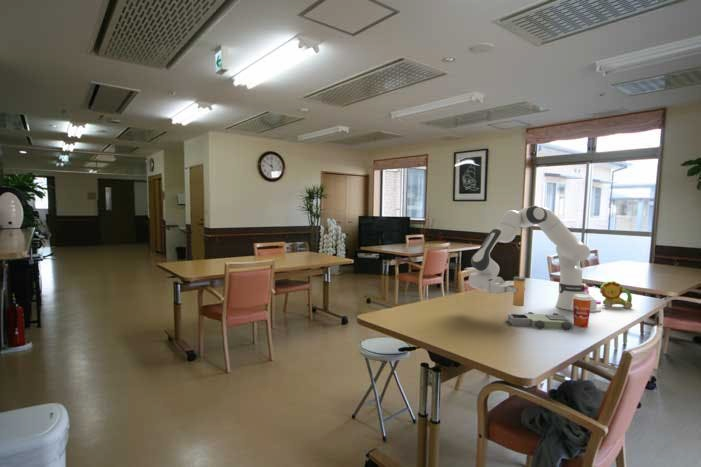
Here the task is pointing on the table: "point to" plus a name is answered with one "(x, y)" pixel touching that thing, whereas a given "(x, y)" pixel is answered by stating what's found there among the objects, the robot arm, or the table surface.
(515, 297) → the orange and grey cylinder
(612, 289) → the toy lion
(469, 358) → the table surface
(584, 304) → the coffee cup
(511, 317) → the box
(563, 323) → the toy wheeled cart
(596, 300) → the bracket
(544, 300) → the table surface
